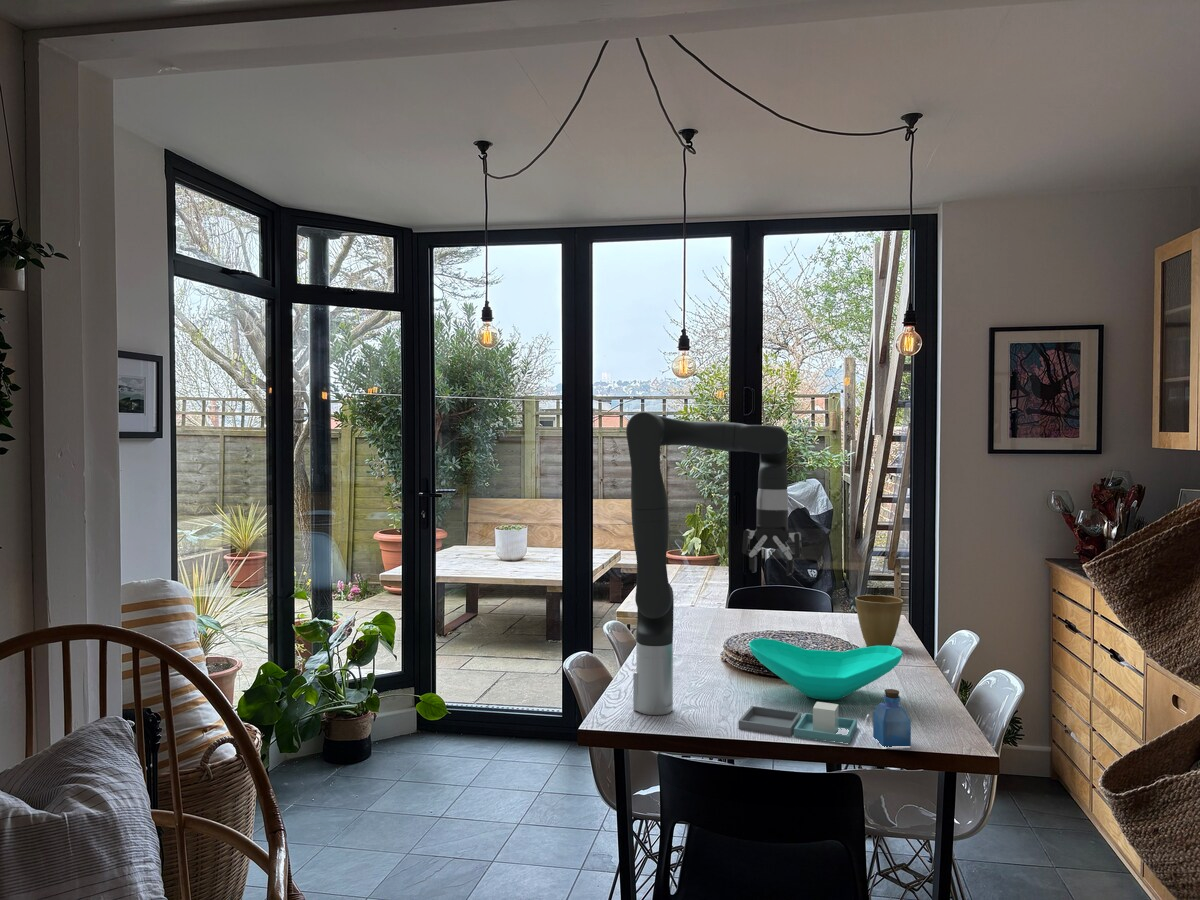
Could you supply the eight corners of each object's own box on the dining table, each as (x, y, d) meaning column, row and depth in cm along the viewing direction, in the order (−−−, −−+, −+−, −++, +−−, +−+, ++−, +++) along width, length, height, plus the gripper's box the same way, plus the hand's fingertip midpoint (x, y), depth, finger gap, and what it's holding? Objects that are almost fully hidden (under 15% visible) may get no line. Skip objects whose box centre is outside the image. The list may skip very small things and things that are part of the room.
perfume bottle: (899, 739, 194) (900, 686, 194) (910, 749, 188) (911, 695, 188) (873, 739, 194) (873, 687, 194) (883, 749, 188) (883, 695, 188)
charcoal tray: (738, 730, 200) (738, 720, 200) (751, 715, 211) (751, 705, 211) (790, 738, 195) (790, 728, 195) (801, 722, 206) (801, 712, 206)
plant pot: (909, 653, 271) (909, 603, 271) (862, 652, 271) (862, 603, 271) (894, 641, 286) (894, 594, 285) (849, 641, 286) (849, 594, 286)
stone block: (812, 733, 196) (812, 707, 196) (816, 726, 201) (816, 701, 200) (834, 736, 194) (835, 710, 194) (838, 729, 199) (838, 704, 198)
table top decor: (743, 706, 218) (743, 655, 217) (752, 676, 244) (752, 630, 244) (907, 719, 207) (908, 665, 207) (898, 687, 234) (898, 639, 234)
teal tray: (794, 739, 194) (794, 728, 194) (804, 722, 205) (804, 712, 205) (849, 747, 189) (849, 736, 189) (856, 729, 200) (856, 719, 200)
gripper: (739, 507, 207) (738, 573, 207) (798, 509, 201) (797, 578, 201) (747, 505, 214) (746, 569, 214) (804, 507, 208) (803, 573, 208)
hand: (771, 573), depth 208 cm, fingers open, 8 cm apart
